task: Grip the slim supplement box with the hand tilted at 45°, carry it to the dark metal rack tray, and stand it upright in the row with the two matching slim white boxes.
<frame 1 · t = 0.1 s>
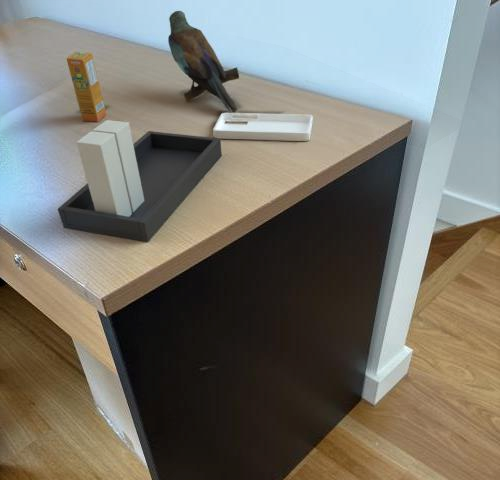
bird figurine: (211, 98, 93), on the table
supplement box: (94, 119, 88), on the table
white boxes: (123, 216, 64), resting on rack tray
phone case: (263, 131, 81), on the table
rack tray: (150, 188, 69), on the table
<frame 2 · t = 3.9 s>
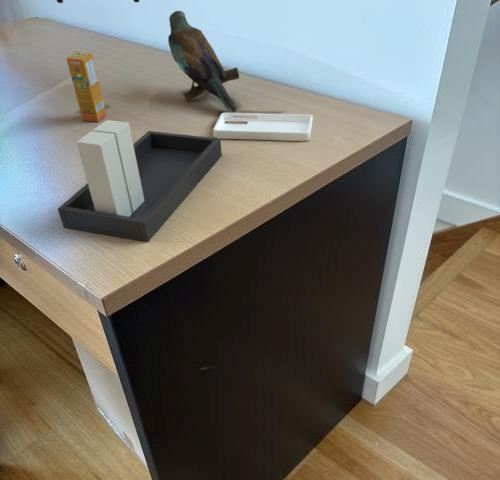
nothing on the table moved.
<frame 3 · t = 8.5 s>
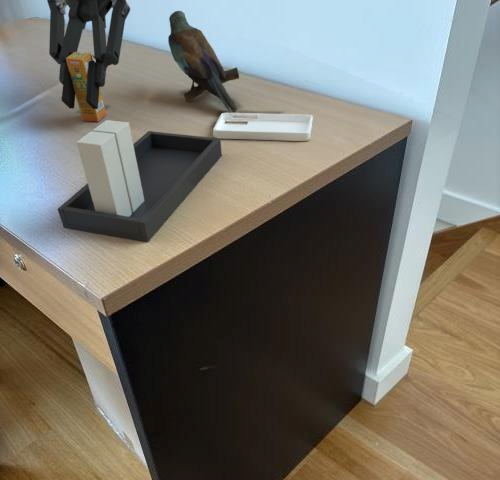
hand: (79, 104, 82), 4 cm above the table, tool tilted 45°, fingers closed on supplement box, 3 cm apart
supplement box: (94, 119, 88), on the table, touching gripper
everything else where it was.
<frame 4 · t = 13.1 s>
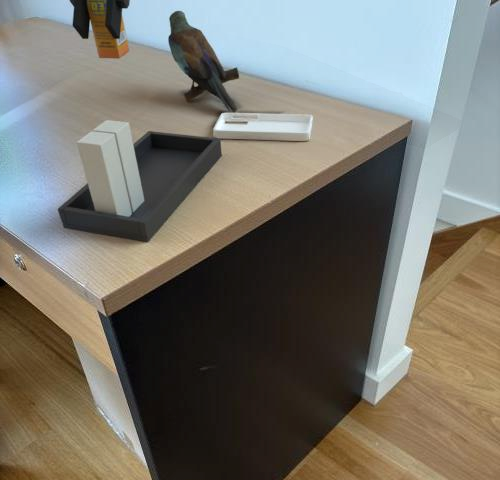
hand: (96, 31, 62), 17 cm above the table, tool tilted 45°, fingers closed on supplement box, 3 cm apart
supplement box: (114, 57, 67), point 13 cm above the table, touching gripper
everything else where it was.
when the fingers open (4 cm above the table, at t = 18.1 s): supplement box stays where it is, resting on rack tray.
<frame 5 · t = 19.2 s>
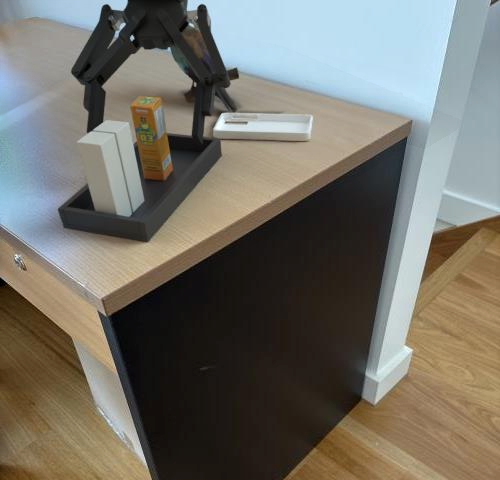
hand: (144, 138, 64), 7 cm above the table, tool tilted 45°, fingers open, 13 cm apart
supplement box: (158, 176, 70), resting on rack tray
everything else where it was.
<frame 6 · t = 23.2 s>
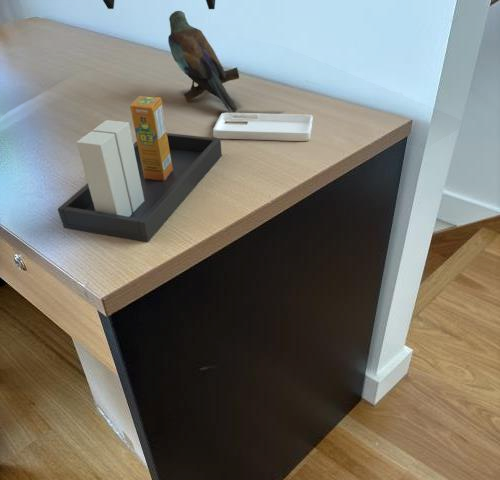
hand: (157, 2, 65), 19 cm above the table, tool tilted 45°, fingers open, 13 cm apart
nothing on the table moved.
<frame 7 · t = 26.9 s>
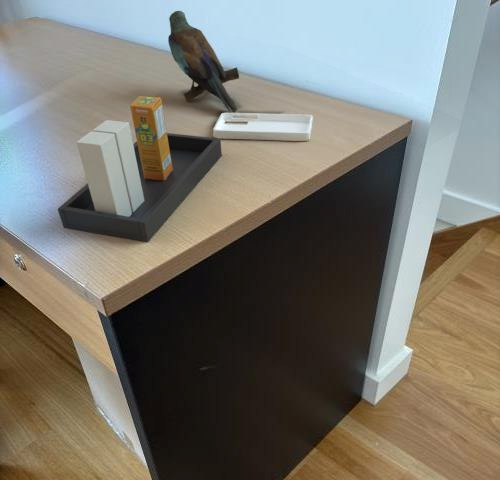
nothing on the table moved.
at the end: supplement box inside the target area in the rack tray (0.2 cm from its centre), point 0.4 cm above the rack tray's base; supplement box tilted 0°; supplement box 9.9 cm from the white boxes (horizontally) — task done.
